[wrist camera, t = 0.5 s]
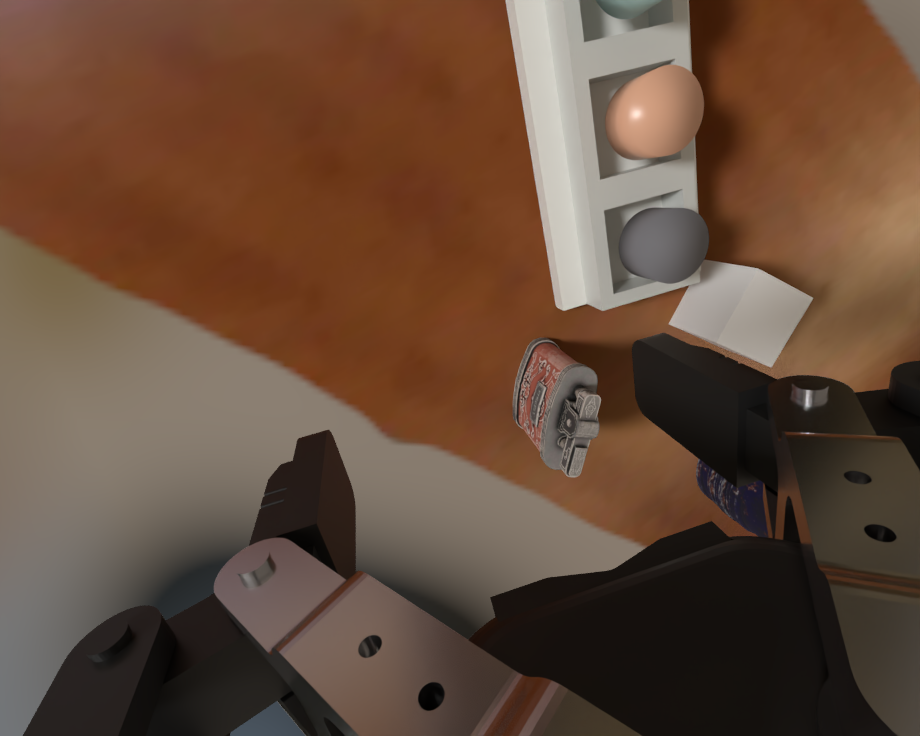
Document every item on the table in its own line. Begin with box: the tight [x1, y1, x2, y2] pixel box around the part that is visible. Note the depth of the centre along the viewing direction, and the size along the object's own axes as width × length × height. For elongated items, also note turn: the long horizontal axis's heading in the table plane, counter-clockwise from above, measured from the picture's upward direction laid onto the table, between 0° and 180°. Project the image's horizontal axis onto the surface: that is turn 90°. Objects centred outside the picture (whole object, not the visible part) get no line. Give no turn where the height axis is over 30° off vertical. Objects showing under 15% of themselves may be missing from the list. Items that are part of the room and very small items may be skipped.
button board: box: [506, 0, 701, 311], centre depth 33 cm, size 24×12×4 cm, turn 14°
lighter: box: [513, 338, 601, 477], centre depth 36 cm, size 8×3×10 cm, turn 170°
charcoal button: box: [619, 207, 709, 284], centre depth 32 cm, size 5×5×3 cm
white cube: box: [669, 260, 813, 367], centre depth 39 cm, size 6×6×6 cm
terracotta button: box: [605, 65, 704, 160], centre depth 29 cm, size 5×5×3 cm
